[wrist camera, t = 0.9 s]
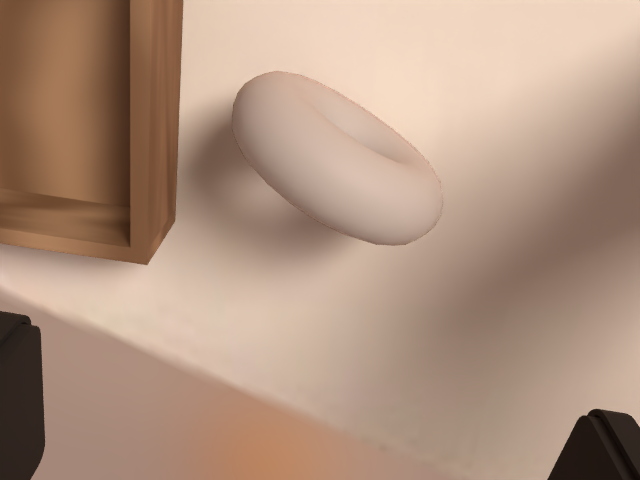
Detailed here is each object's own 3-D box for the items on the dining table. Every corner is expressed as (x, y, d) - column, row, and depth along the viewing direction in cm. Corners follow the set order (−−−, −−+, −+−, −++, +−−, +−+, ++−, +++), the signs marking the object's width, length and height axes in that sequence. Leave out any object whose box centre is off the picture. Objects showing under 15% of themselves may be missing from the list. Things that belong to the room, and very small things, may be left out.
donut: (442, 147, 30) (482, 233, 21) (402, 200, 31) (424, 302, 22) (272, 38, 28) (236, 82, 19) (238, 100, 29) (189, 168, 20)
